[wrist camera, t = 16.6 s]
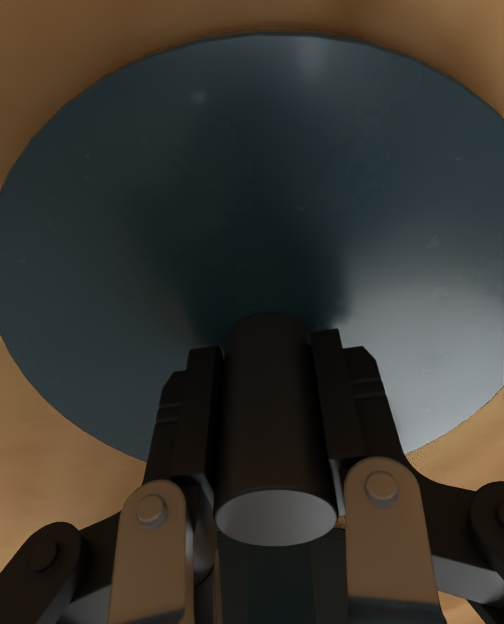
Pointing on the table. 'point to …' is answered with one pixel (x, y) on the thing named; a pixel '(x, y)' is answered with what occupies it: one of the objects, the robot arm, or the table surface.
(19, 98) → the table surface
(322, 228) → the lid
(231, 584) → the pot
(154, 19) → the table surface
